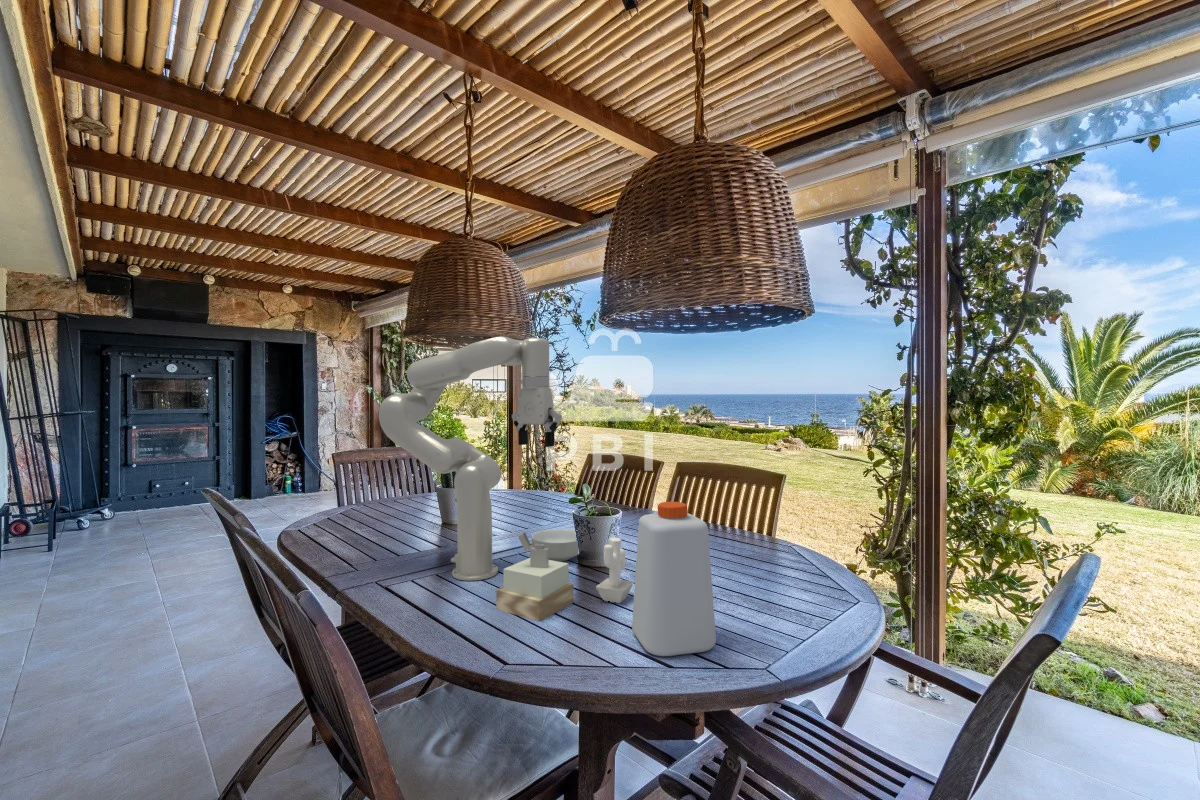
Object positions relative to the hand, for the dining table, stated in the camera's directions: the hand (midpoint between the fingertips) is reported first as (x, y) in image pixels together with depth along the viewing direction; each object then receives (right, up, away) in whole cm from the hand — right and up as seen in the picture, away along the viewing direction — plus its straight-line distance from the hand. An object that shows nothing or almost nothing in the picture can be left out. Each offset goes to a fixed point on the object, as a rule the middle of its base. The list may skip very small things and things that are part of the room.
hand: (536, 445), depth 153 cm
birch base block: (+2, -37, -20) cm, 42 cm away
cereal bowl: (+5, -36, +18) cm, 41 cm away
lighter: (+2, -27, -21) cm, 34 cm away
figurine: (+21, -37, -16) cm, 45 cm away
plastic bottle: (+33, -37, -39) cm, 63 cm away
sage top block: (+2, -32, -20) cm, 38 cm away
